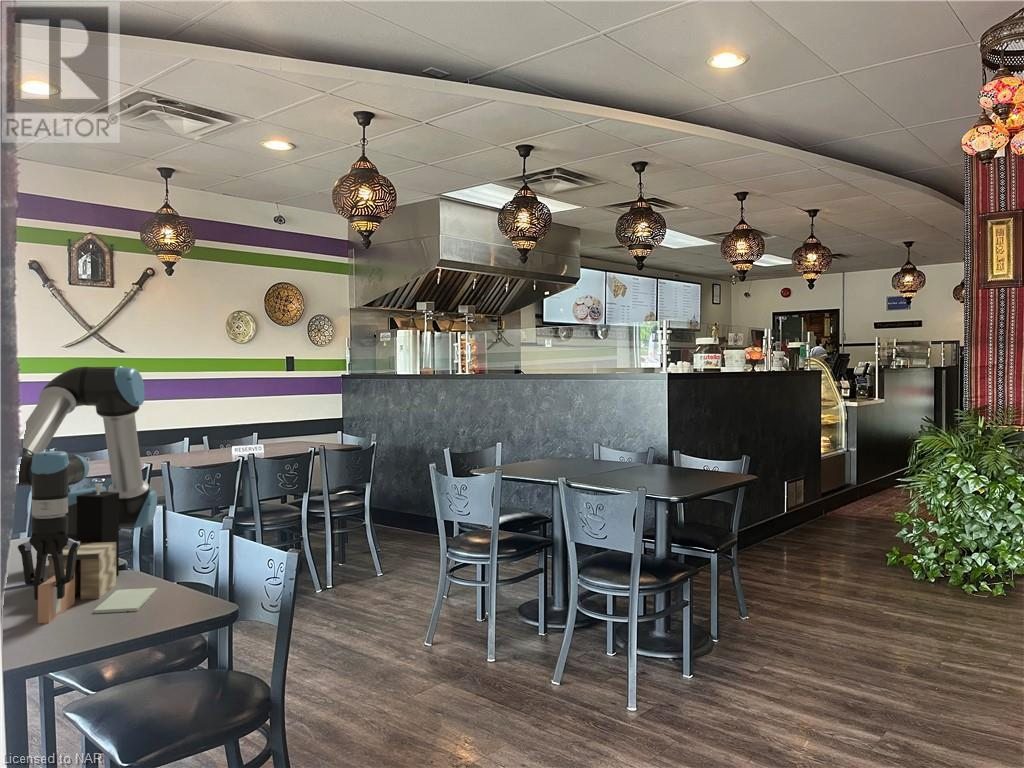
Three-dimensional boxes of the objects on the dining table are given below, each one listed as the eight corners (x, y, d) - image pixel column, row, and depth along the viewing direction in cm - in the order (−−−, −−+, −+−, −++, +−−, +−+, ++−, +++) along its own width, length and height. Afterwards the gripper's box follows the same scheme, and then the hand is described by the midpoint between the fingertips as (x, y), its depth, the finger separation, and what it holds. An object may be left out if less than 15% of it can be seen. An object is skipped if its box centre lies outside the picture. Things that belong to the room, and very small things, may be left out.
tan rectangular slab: (64, 603, 189) (64, 568, 189) (74, 603, 189) (74, 568, 189) (37, 623, 173) (37, 586, 173) (49, 623, 174) (49, 585, 174)
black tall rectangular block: (119, 575, 216) (119, 481, 216) (101, 583, 208) (102, 485, 208) (94, 574, 217) (94, 480, 217) (75, 582, 209) (76, 484, 209)
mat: (117, 592, 199) (117, 589, 199) (156, 590, 201) (156, 587, 201) (93, 613, 181) (93, 610, 181) (137, 611, 183) (137, 607, 183)
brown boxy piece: (69, 586, 205) (69, 543, 204) (116, 584, 207) (116, 542, 207) (47, 602, 190) (47, 556, 190) (97, 599, 192) (98, 554, 192)
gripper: (7, 519, 172) (6, 619, 172) (79, 517, 175) (78, 615, 175) (21, 513, 179) (21, 609, 179) (90, 511, 182) (90, 605, 182)
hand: (49, 612), depth 177 cm, fingers closed on tan rectangular slab, 2 cm apart
